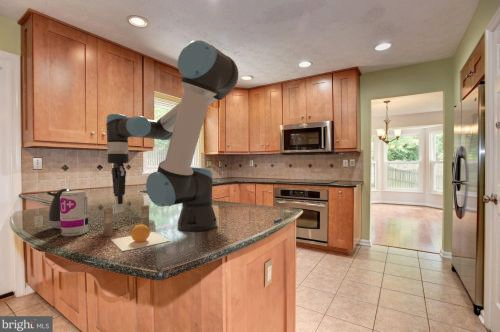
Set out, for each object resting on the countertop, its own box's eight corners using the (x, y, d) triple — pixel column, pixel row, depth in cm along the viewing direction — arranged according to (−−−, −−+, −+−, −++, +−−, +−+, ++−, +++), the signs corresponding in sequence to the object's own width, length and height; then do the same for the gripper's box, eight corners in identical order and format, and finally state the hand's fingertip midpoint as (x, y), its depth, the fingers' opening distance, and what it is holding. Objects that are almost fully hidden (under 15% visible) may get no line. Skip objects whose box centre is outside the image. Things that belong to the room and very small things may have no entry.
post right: (150, 228, 96) (149, 205, 96) (143, 230, 94) (142, 206, 94) (147, 227, 98) (147, 204, 98) (140, 228, 96) (140, 205, 96)
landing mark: (169, 241, 81) (169, 240, 81) (122, 251, 72) (122, 250, 72) (153, 232, 91) (153, 231, 91) (110, 240, 82) (110, 239, 82)
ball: (152, 224, 80) (146, 221, 84) (134, 227, 77) (128, 224, 81) (152, 242, 80) (146, 238, 85) (134, 245, 77) (128, 241, 81)
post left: (113, 235, 88) (113, 209, 88) (105, 236, 86) (104, 210, 86) (111, 233, 90) (111, 208, 90) (103, 234, 88) (103, 209, 88)
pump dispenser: (46, 227, 99) (45, 188, 99) (78, 222, 106) (77, 186, 106) (48, 232, 91) (48, 190, 91) (82, 227, 98) (82, 188, 98)
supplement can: (74, 237, 85) (73, 193, 85) (54, 236, 87) (53, 192, 87) (93, 231, 93) (93, 190, 93) (75, 229, 95) (74, 190, 95)
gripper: (104, 154, 104) (105, 211, 104) (111, 152, 94) (113, 215, 94) (123, 154, 109) (125, 208, 109) (132, 152, 99) (134, 212, 99)
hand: (119, 211), depth 102 cm, fingers closed
